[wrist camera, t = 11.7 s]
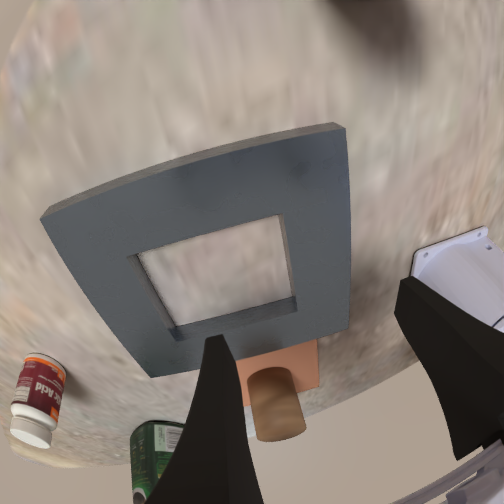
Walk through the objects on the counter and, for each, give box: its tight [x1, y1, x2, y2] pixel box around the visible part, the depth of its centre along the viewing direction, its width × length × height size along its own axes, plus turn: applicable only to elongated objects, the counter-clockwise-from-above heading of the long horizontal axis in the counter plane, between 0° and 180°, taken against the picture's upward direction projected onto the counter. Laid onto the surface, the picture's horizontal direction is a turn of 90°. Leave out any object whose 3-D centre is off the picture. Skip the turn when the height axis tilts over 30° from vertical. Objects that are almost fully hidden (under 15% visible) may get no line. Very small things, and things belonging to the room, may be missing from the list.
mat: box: [235, 339, 319, 406], centre depth 28 cm, size 10×10×1 cm
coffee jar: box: [130, 422, 184, 504], centre depth 26 cm, size 10×8×19 cm
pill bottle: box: [10, 353, 66, 449], centre depth 19 cm, size 5×5×8 cm
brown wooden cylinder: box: [247, 367, 306, 442], centre depth 25 cm, size 4×4×6 cm
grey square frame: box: [40, 122, 351, 378], centre depth 19 cm, size 17×16×2 cm
